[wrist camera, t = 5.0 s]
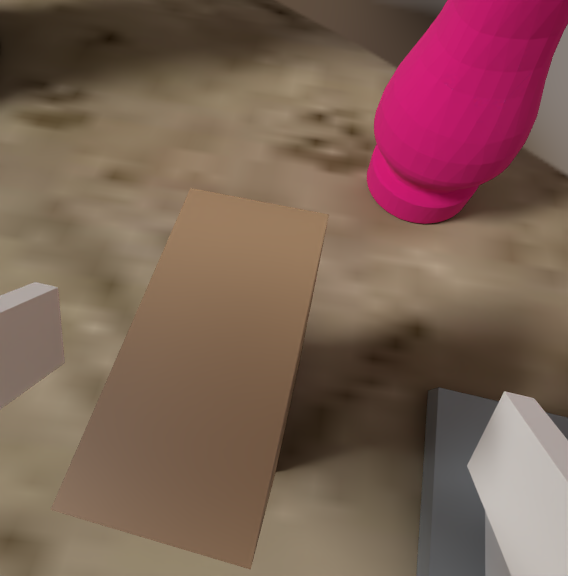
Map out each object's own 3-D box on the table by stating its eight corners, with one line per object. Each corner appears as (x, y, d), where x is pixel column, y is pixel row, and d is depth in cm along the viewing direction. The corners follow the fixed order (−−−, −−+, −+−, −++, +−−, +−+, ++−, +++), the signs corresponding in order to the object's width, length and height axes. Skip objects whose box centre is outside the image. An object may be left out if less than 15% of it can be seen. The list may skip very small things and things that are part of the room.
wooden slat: (251, 349, 17) (190, 188, 6) (299, 360, 17) (328, 215, 6) (220, 457, 15) (50, 509, 4) (275, 472, 15) (250, 569, 4)
